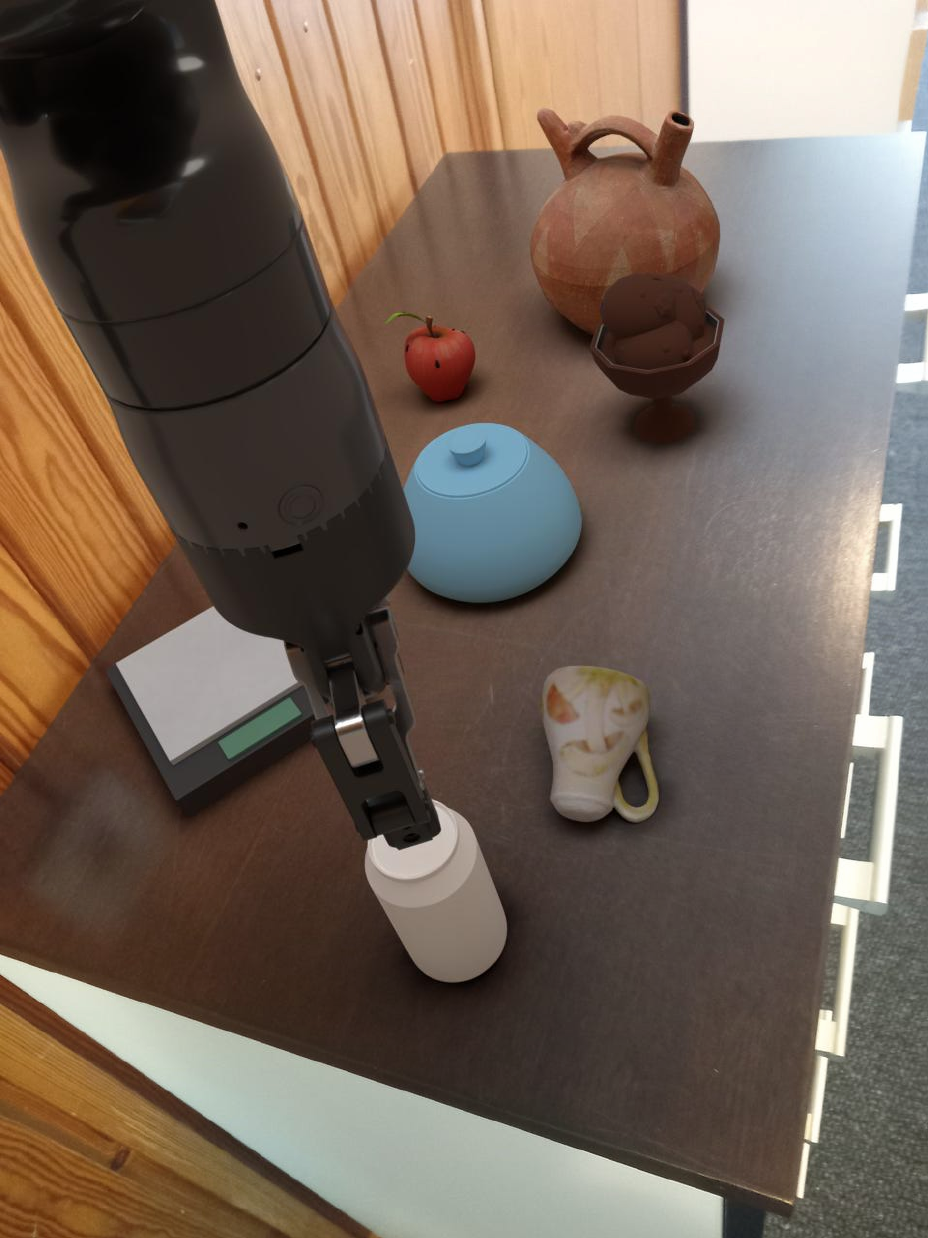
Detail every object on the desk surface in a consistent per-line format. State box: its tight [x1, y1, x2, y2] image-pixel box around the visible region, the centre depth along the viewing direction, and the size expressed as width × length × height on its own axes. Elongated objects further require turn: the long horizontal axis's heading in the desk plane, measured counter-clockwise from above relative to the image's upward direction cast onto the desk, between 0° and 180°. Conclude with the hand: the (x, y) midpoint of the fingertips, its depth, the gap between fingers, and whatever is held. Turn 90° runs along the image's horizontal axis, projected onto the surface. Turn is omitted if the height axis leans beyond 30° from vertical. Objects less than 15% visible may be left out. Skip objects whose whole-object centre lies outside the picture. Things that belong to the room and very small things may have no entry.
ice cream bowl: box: [589, 273, 725, 445], centre depth 86 cm, size 11×11×15 cm
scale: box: [105, 605, 333, 819], centre depth 79 cm, size 15×16×3 cm
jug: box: [529, 107, 721, 337], centre depth 98 cm, size 18×18×20 cm
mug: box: [540, 665, 660, 824], centre depth 67 cm, size 8×10×10 cm
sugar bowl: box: [403, 422, 583, 604], centre depth 81 cm, size 15×15×12 cm
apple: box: [381, 311, 477, 403], centre depth 99 cm, size 8×7×10 cm
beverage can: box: [364, 798, 508, 983], centre depth 58 cm, size 6×6×12 cm
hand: (398, 753), depth 44 cm, fingers open, 8 cm apart
